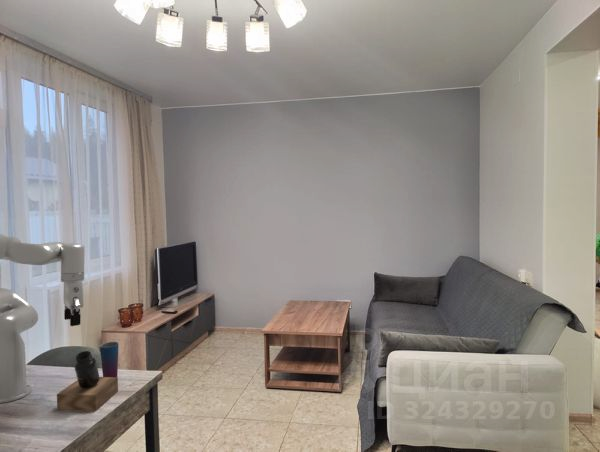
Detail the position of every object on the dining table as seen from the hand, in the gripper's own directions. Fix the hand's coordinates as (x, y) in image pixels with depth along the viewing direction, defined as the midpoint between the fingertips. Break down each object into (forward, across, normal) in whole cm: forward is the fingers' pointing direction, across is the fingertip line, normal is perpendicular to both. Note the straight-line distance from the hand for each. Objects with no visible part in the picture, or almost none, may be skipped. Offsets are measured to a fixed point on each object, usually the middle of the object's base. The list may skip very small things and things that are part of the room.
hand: (72, 322), depth 144 cm
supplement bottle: (+21, -10, -4) cm, 23 cm away
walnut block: (+27, -10, -4) cm, 29 cm away
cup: (+27, +2, -14) cm, 31 cm away
